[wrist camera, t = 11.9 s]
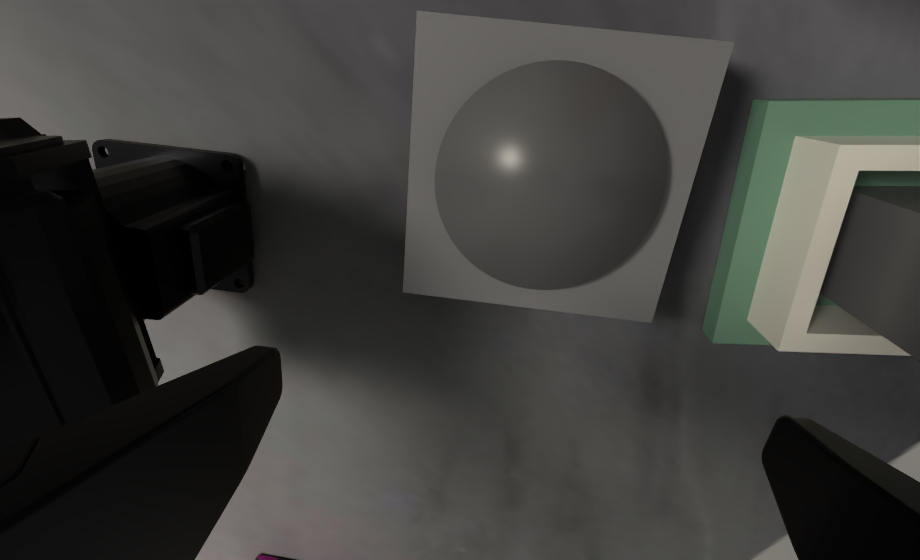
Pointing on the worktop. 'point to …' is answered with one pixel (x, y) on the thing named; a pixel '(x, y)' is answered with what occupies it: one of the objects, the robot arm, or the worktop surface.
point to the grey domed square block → (553, 161)
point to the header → (804, 219)
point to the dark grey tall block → (880, 263)
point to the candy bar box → (268, 558)
